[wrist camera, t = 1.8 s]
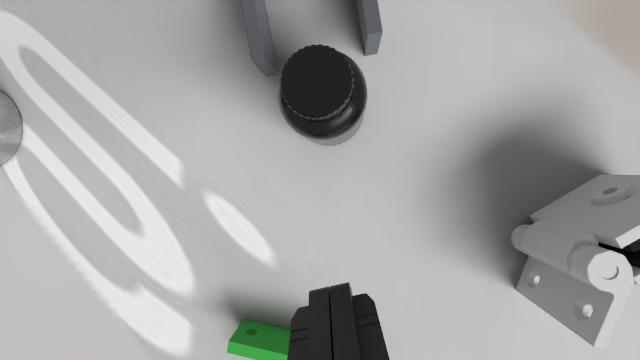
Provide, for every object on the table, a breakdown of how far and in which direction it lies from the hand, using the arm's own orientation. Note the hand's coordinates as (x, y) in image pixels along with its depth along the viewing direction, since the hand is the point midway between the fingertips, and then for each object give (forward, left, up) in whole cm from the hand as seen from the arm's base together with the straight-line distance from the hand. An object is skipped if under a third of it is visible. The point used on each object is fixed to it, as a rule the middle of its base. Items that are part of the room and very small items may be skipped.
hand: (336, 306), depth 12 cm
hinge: (+18, +11, -21) cm, 29 cm away
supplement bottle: (-7, +8, -21) cm, 23 cm away
